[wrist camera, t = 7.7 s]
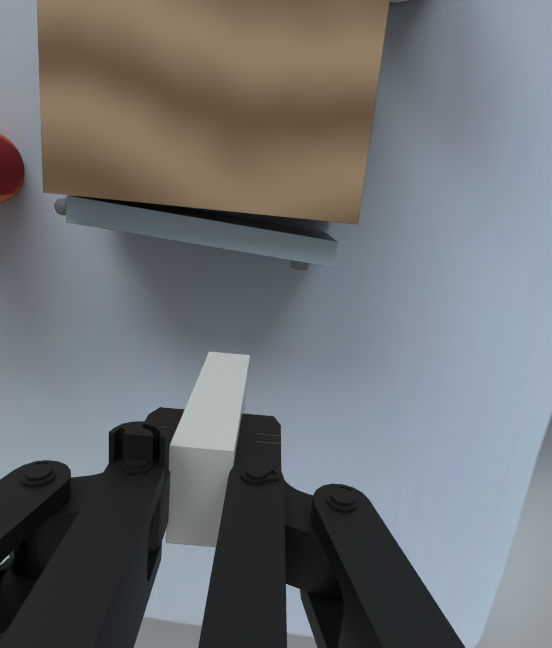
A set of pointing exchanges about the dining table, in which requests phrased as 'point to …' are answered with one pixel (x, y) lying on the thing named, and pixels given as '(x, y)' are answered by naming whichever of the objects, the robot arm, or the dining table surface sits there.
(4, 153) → the paper cup
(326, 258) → the door
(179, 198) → the cabinet
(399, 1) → the can
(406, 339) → the dining table surface
